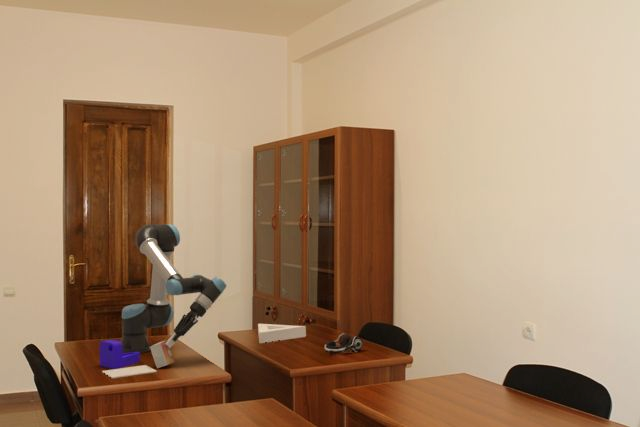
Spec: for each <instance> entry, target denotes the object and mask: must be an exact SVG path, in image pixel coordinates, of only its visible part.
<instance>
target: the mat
mask: <svg viewBox="0 0 640 427" xmlns="http://www.w3.org/2000/svg"><path fill="white" fill-rule="evenodd" d="M101 372H102V374H104V373H105V374H104V375H106V376H107V375H108V376H107V377H109V378H110V377H111V379H119V378H126V377H132V376H138V375H145V374H146V375H147V374H152V373H158V371H157V370H156V369H154V368H152V367H151V366H148V365H147V364H144V365H143V364H142V365H136V366H129V367H128V366H126V367H122V368H117V369H108V370H102V371H101Z"/></svg>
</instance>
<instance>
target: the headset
mask: <svg viewBox="0 0 640 427" xmlns="http://www.w3.org/2000/svg"><path fill="white" fill-rule="evenodd" d="M337 342H338V343H337ZM337 345H338V346H337ZM363 346H364V342H363V339H362V338H361V337H360V336H358V335H354V336H352V335H351V334H350V333H342V334H340V335H339V336H338V338H337V339H336V340H330V341H329V342H327V343H325V344H324V350H325V351H326V353H328V354H329V355H333V354H340V353H341V354H342V353H344V352H348V353H349V352H350V351H353V352H355V353H357V352H359V351H360V350H361V349H362V348H363Z"/></svg>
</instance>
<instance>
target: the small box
mask: <svg viewBox="0 0 640 427" xmlns="http://www.w3.org/2000/svg"><path fill="white" fill-rule="evenodd" d="M167 341H168V340H167V339H166V340H163V341H160V342H157V343H155V344H152V345H151V346H150V351H151V355H152V358H153V361H154V364H155V366H156V369H159V368H163V367H165V366H168V365H169V364H173V363H174V362H175V359H174V356H173V354H172V351H171V348H169V347H168V346H167V345H166V344H165V343H166V342H167Z"/></svg>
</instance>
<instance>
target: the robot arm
mask: <svg viewBox="0 0 640 427" xmlns="http://www.w3.org/2000/svg"><path fill="white" fill-rule="evenodd" d="M180 241H181V235H180V232H179V230H178V227H176V226H175V225H174V224H170V223H168V224H167V223H163V224H162V223H161V224H160V223H158V224H146V225H143V226H141V227H140V228H139V229H138V231H137V232H136V234H135V244H136V247H137V249H138V251H139V252H140V253H141V254H143V255H145V256H146V257H147V259H148V260H149V262H150V263H151V264H152V269H151V270H152V272H151V281H150V282H151V285H150V295H149V298H148V299H147V300H146V304H145V303H133V304H130V305H126V306H124V307H122V310H121V330H122V332H121V336H122V337H121V339H120V340H121V341H120V342H121V343H122V354H123V353H130V352H140V354H144V353H147V352H150V351H151V349H150V343H149V340H148V337H147V329H153V328H162V327H166V326H168V325H169V324H170V323H171V322H172V320H173V318H174V314H175V313H174V307H173V305H172V304H171V303H170V300H169V299H168V295H170V296H181V295H188V294H197V293H199V295H198V296H197V297H196V298H195V300H194V301H193V302H192V303H191V304H190V306H189V309H190V311H189V312H188V313H186V314H185V313H184V314H183V315H182V316H181V317H182V318H181V319H180V320H179V321H178V324H177V325H175V327H174V329H173V332H174V333H173V334H172V335H171V336H170V337H169V339H168V340H167V342H166V343H165V344H166V345H167V346H168V347H169V348H170V349H171V348H172V347H173V346H174V344H175V343H176V342H177V341H178V340H179V338H180V337H184V336H185V335H186V334H187V333H188V332H189V331H190V330H191V329H192V327H193V326H195V325H196V324H197V323H199V320H198V318H203V317H204V315H206V313H207V311H208V310H210V308H212V305H213V304H214V303H216V301H217V299H218V298H219V297H220V296H221V295H222V294H223V293H224V291H225V289H226V288H227V284H226V282H225V281H224V280H223V279H221V278H220V277H218V276H215V277H213V278H212V279H210V278H207V277H206V276H204V275H202V274H193V275H191V277H183V276H182V275H181V274H180V272H179V271H178V270H177V269H176V267H175V266H174V264H173V263H172V261H171V256H172V254H173V253H174V252H175V247H177V246H178V245H179V244H180Z"/></svg>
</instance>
